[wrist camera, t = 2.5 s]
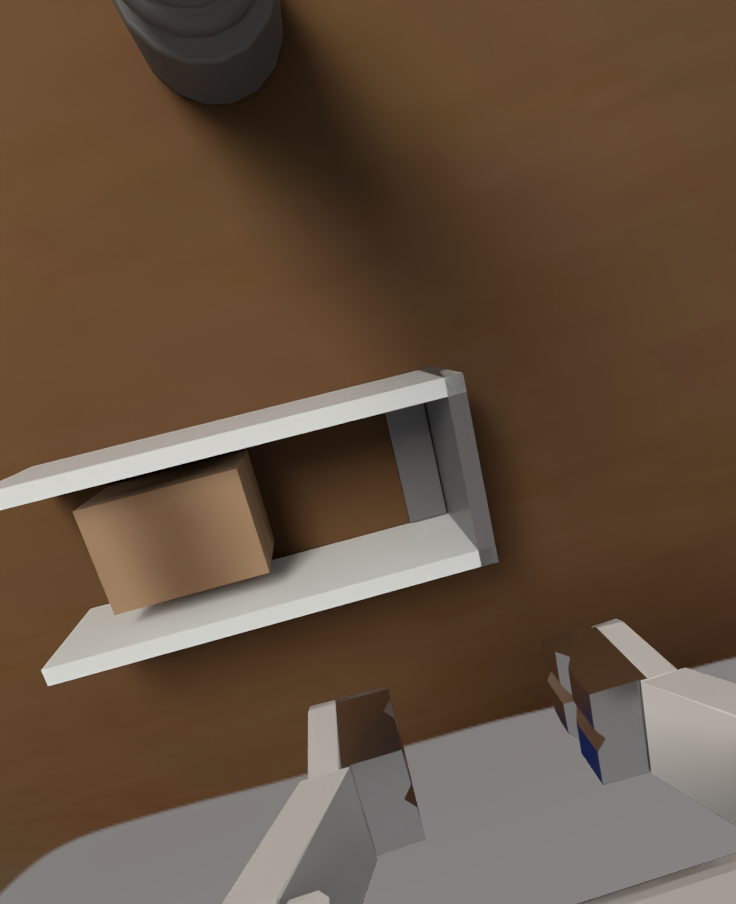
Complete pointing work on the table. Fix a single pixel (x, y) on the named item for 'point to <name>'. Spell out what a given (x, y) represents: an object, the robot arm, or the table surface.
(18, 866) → the table surface
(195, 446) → the white channel
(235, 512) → the light brown block
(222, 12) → the candle holder
